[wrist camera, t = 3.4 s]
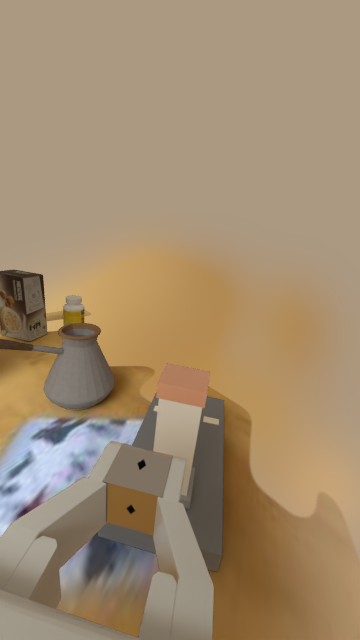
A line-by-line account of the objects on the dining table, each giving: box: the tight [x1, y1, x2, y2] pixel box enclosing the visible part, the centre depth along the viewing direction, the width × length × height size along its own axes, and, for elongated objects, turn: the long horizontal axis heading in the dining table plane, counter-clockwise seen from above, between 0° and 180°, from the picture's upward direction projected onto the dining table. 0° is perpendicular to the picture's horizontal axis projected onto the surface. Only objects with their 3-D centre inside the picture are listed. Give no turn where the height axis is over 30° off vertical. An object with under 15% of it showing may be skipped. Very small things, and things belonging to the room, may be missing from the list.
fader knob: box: [153, 364, 210, 509], centre depth 25 cm, size 5×4×14 cm
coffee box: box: [0, 270, 47, 341], centre depth 62 cm, size 9×6×16 cm
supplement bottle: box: [63, 296, 84, 326], centre depth 69 cm, size 5×5×10 cm
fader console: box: [98, 392, 224, 572], centre depth 34 cm, size 12×23×3 cm, turn 170°
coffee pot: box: [0, 323, 115, 410], centre depth 38 cm, size 21×12×15 cm, turn 135°
